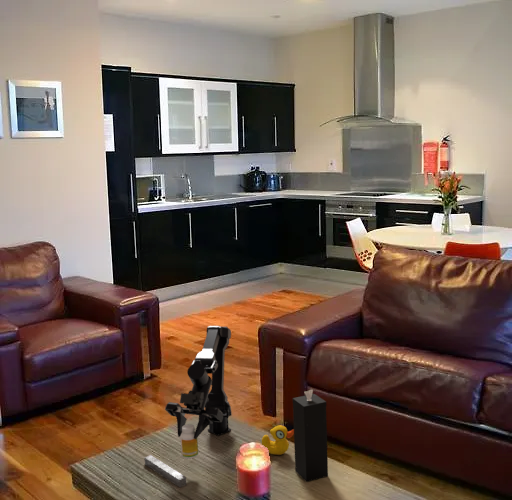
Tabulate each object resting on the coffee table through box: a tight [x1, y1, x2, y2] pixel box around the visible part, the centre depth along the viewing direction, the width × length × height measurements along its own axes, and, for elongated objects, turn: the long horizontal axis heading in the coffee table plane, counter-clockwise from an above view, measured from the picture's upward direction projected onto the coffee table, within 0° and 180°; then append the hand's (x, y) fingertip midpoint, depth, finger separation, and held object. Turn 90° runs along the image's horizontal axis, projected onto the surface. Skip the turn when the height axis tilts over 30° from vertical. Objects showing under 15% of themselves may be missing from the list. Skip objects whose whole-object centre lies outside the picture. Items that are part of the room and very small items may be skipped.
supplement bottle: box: [179, 423, 199, 460], centre depth 202 cm, size 5×5×10 cm
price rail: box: [143, 454, 187, 488], centre depth 204 cm, size 3×21×2 cm, turn 40°
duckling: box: [261, 424, 294, 456], centre depth 215 cm, size 11×5×10 cm, turn 81°
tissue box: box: [292, 389, 329, 482], centre depth 199 cm, size 8×8×28 cm
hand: (186, 437), depth 201 cm, fingers closed on supplement bottle, 5 cm apart
